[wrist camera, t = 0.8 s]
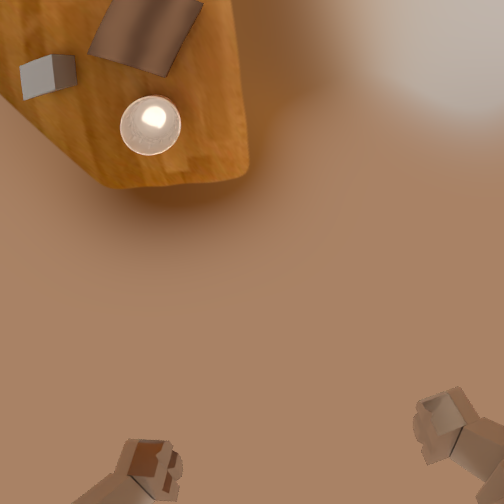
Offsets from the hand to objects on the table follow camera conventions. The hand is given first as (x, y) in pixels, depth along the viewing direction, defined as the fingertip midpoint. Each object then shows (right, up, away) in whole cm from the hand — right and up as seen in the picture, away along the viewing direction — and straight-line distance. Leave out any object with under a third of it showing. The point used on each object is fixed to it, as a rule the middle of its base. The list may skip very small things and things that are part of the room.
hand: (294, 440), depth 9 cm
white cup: (-16, +27, +36) cm, 48 cm away
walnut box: (-17, +39, +28) cm, 51 cm away
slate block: (-31, +33, +28) cm, 53 cm away
